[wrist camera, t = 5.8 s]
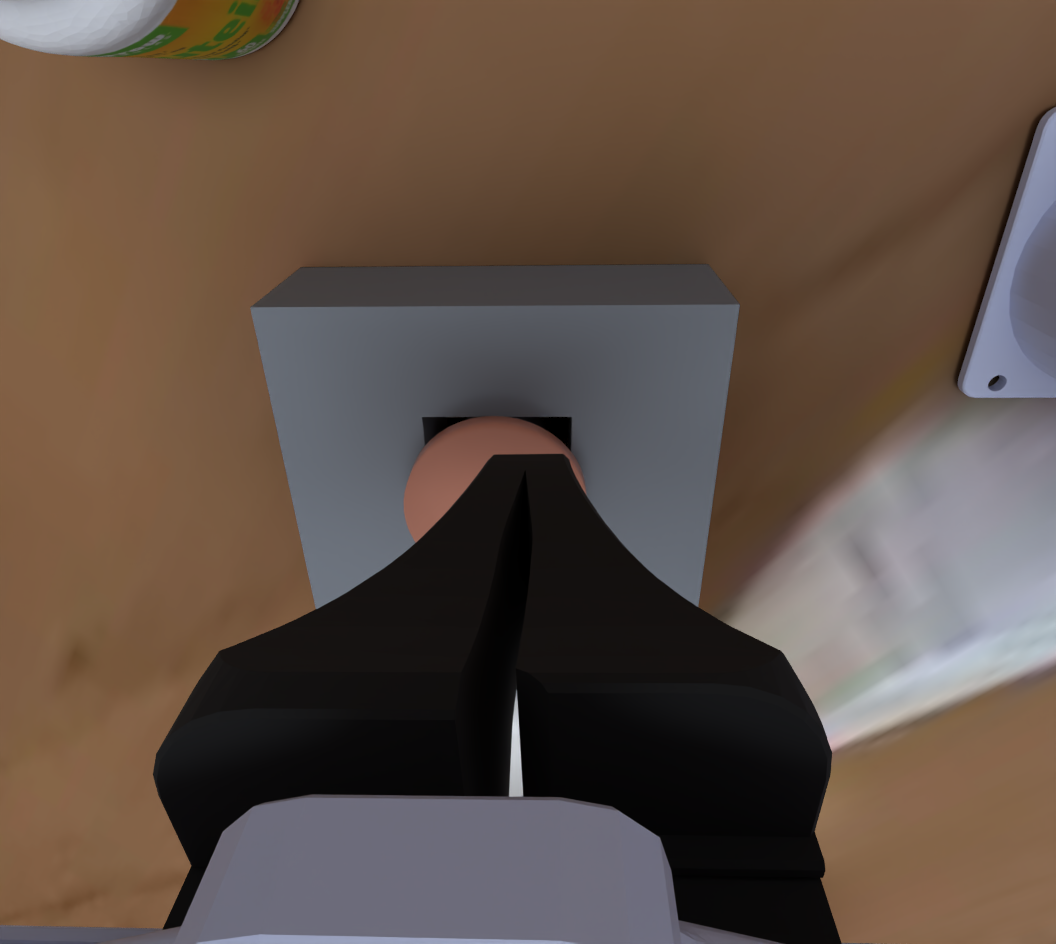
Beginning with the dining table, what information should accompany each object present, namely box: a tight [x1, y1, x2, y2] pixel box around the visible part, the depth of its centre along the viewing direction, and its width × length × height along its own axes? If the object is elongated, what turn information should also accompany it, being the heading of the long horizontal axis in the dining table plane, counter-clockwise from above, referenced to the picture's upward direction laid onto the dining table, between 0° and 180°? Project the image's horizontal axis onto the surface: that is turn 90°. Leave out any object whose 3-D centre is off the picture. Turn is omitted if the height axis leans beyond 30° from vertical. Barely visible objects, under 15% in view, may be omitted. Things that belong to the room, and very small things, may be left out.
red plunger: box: [404, 416, 587, 542], centre depth 20 cm, size 5×5×4 cm
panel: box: [250, 264, 740, 797], centre depth 24 cm, size 12×20×4 cm, turn 1°
